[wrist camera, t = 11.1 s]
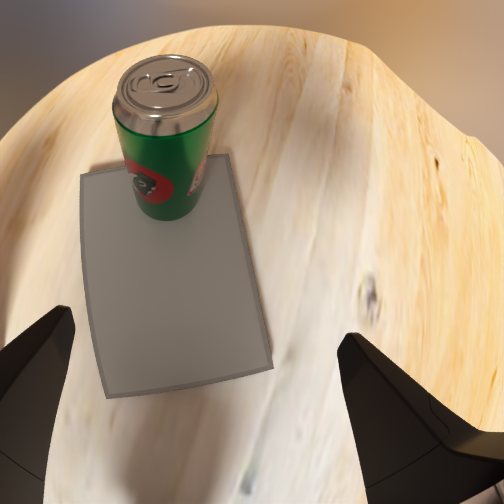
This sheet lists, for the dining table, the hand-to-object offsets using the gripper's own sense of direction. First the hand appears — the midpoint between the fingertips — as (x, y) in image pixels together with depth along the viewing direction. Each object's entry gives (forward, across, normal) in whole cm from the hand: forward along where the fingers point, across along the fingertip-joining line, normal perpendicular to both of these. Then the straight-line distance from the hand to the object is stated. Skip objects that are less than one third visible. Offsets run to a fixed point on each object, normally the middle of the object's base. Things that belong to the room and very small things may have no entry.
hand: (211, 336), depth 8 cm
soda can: (+16, +3, +2) cm, 16 cm away
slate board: (+12, +3, +7) cm, 14 cm away
